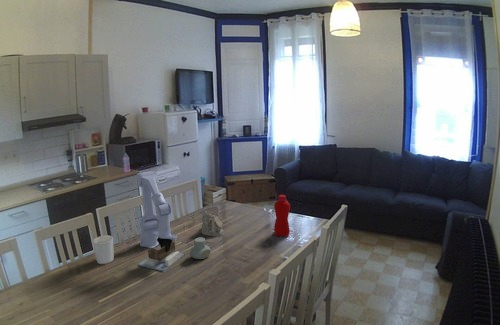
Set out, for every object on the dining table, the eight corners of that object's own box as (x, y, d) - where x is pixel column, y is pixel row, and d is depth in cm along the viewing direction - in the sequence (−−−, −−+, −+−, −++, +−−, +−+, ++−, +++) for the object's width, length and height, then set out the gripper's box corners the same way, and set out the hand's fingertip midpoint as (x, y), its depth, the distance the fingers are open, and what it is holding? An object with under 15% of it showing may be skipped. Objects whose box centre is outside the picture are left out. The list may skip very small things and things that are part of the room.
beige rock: (217, 238, 205) (216, 214, 203) (196, 233, 213) (195, 210, 211) (231, 230, 218) (231, 207, 216) (211, 226, 226) (210, 204, 224)
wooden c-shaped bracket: (148, 258, 175) (147, 249, 174) (163, 248, 186) (162, 239, 184) (160, 260, 172) (159, 251, 171) (175, 250, 182) (174, 241, 181)
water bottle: (292, 237, 205) (293, 197, 200) (274, 237, 205) (275, 198, 200) (291, 230, 214) (291, 193, 209) (273, 231, 214) (274, 193, 209)
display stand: (138, 265, 174) (137, 258, 173) (159, 250, 190) (159, 243, 189) (163, 271, 168) (163, 264, 167) (184, 255, 184) (183, 248, 183)
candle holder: (119, 257, 182) (117, 236, 180) (106, 266, 173) (103, 244, 171) (104, 254, 186) (102, 234, 183) (91, 263, 176) (88, 241, 174)
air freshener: (202, 250, 189) (201, 234, 187) (213, 255, 184) (212, 238, 182) (187, 258, 181) (186, 241, 179) (198, 263, 176) (197, 245, 174)
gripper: (180, 226, 174) (181, 250, 177) (158, 221, 180) (159, 245, 183) (171, 231, 168) (173, 256, 171) (149, 226, 174) (150, 250, 177)
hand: (165, 251), depth 176 cm, fingers closed on wooden c-shaped bracket
